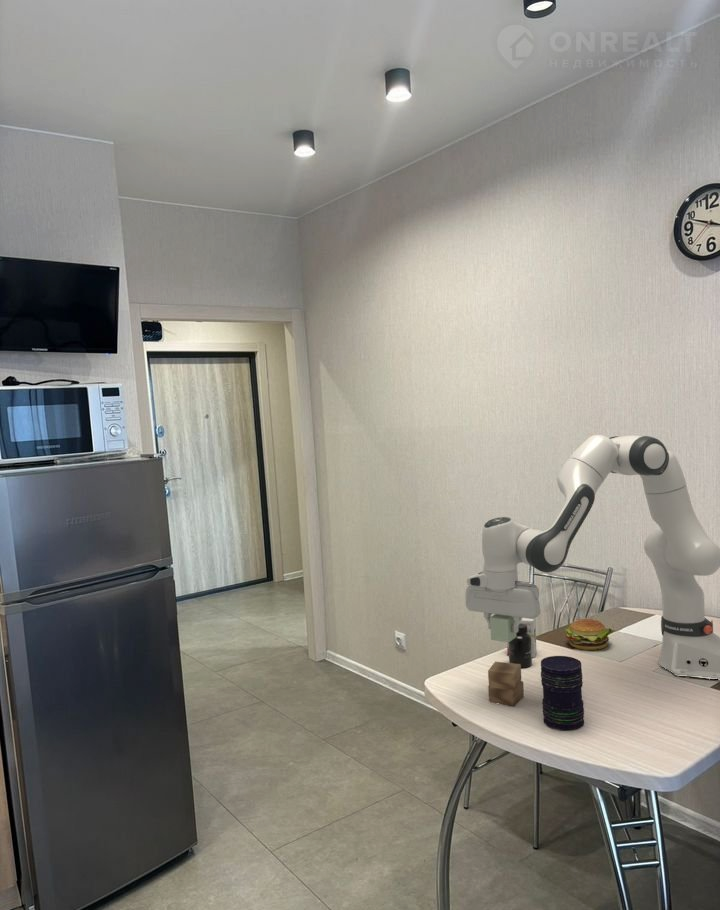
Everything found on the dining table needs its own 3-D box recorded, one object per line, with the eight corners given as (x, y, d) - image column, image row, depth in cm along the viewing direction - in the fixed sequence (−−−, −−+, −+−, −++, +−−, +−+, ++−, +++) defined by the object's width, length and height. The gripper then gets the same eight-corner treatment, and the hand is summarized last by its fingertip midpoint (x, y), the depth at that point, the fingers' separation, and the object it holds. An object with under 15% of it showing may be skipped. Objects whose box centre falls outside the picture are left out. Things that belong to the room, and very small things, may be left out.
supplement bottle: (532, 668, 207) (530, 629, 206) (509, 668, 208) (507, 629, 208) (531, 660, 214) (530, 622, 213) (509, 660, 215) (507, 622, 214)
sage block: (516, 636, 186) (515, 614, 186) (508, 642, 182) (507, 620, 182) (499, 634, 189) (498, 612, 189) (491, 639, 185) (489, 617, 185)
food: (557, 647, 223) (556, 623, 223) (577, 635, 234) (576, 612, 233) (599, 655, 214) (598, 630, 214) (617, 642, 224) (616, 618, 224)
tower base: (524, 697, 188) (523, 681, 188) (513, 707, 182) (512, 690, 182) (500, 692, 192) (499, 676, 192) (489, 702, 186) (488, 686, 186)
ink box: (506, 656, 219) (504, 619, 218) (509, 650, 223) (507, 614, 222) (535, 658, 215) (533, 620, 214) (537, 652, 220) (535, 615, 219)
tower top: (521, 680, 188) (520, 664, 188) (515, 690, 182) (514, 673, 182) (496, 677, 191) (495, 661, 191) (488, 687, 185) (488, 670, 185)
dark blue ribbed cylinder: (560, 734, 166) (557, 673, 165) (534, 718, 175) (531, 660, 174) (593, 724, 170) (590, 664, 169) (566, 709, 179) (563, 652, 178)
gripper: (542, 580, 181) (545, 632, 182) (472, 573, 193) (474, 622, 194) (533, 586, 176) (535, 639, 177) (461, 578, 188) (464, 628, 189)
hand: (503, 630), depth 186 cm, fingers closed on sage block, 5 cm apart
